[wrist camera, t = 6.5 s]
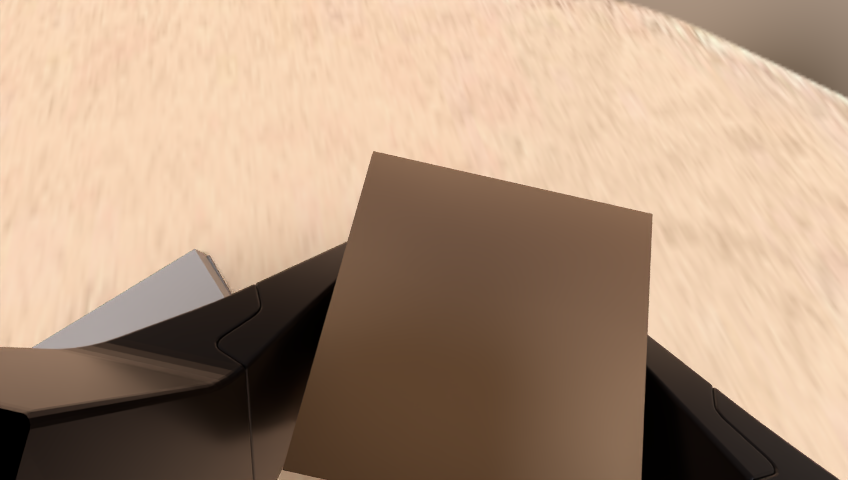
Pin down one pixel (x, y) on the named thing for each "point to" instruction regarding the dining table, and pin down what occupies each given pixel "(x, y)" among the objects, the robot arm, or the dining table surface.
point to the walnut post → (479, 335)
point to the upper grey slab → (146, 303)
